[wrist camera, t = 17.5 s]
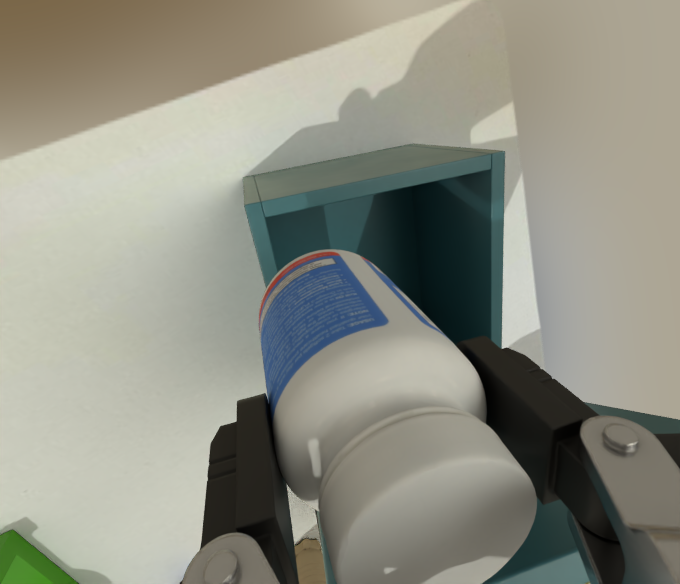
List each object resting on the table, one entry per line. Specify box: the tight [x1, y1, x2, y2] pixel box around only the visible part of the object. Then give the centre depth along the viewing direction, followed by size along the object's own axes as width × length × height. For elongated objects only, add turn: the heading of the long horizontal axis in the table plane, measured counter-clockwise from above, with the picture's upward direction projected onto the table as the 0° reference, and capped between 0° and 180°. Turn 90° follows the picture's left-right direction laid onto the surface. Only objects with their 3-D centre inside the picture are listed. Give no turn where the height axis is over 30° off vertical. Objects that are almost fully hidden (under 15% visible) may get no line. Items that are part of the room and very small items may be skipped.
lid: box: [317, 402, 680, 584], centre depth 17 cm, size 16×14×6 cm
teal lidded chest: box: [243, 144, 505, 349], centre depth 28 cm, size 16×14×12 cm
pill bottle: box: [259, 249, 537, 584], centre depth 11 cm, size 6×5×10 cm
